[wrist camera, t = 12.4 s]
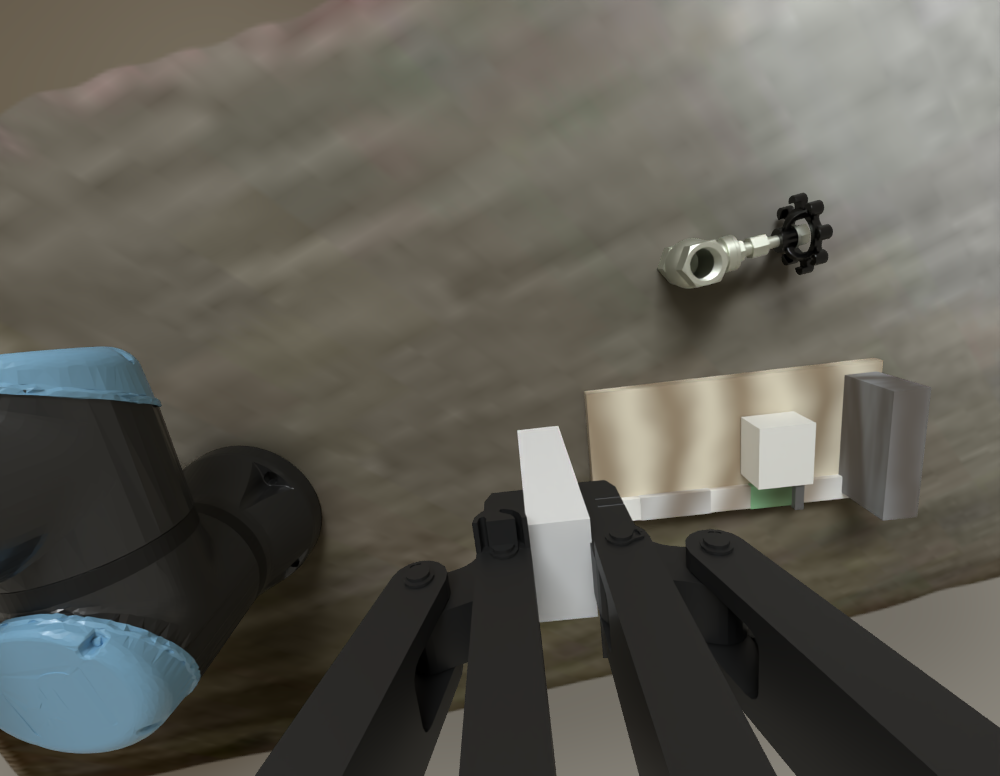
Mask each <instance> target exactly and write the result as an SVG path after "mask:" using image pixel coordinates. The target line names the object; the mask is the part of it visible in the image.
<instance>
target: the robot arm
mask: <svg viewBox="0 0 1000 776" xmlns="http://www.w3.org/2000/svg"><path fill="white" fill-rule="evenodd" d="M161 406H162V405H161V402H160V401H159V400H158V399H157V398H155V397H154V395H153V392H152V390H151V388H150V385H149V383H148V381H147V379H146V376H145V374H144V372H143V369H142V367H141V365H140V363H139V362H138V360H137V359H136V358H135V357H134V356H132V355H131V354H130V353H128V352H126V351H124V350H121V349H118V348H114V347H84V348H69V349H56V350H43V351H31V352H21V353H10V354H0V729H2V730H3V731H5V732H6V733H8V734H10V735H12V736H14V737H16V738H18V739H20V740H23V741H25V742H28V743H31V744H35V745H38V746H41V747H43V748H47V749H51V750H55V751H61V752H68V753H100V752H108V751H113V750H117V749H121V748H124V747H127V746H130V745H132V744H134V743H136V742H138V741H140V740H142V739H144V738H146V737H147V736H149V735H150V734H152V733H153V732H154V731H155V730H157V729H158V728H159V727H160V726H161V725H162V724H163V723H164V722H165V721H166V719H167V718H168V717H169V716H170V715H171V713H172V712H173V711H174V710H175V708H176V707H177V706H178V705H179V704H180V702H181V701H182V700H183V699H184V697H186V696H187V695H188V694H190V693H191V692H192V691H193V690H194V688H195V687H196V685H197V684H198V681H199V680H200V678H201V677H202V676H203V674H204V673H205V671H206V670H207V668H208V667H209V665H210V664H211V663H212V661H213V660H214V658H215V657H216V655H217V654H218V653H219V651H220V650H221V648H222V647H223V645H224V644H225V642H226V641H227V640H228V638H229V637H230V635H231V634H232V632H233V631H234V629H235V628H236V627H237V625H238V624H239V622H240V621H241V619H242V618H243V617H244V615H245V614H246V612H247V611H248V609H249V608H250V606H251V605H252V603H253V602H254V601H255V599H256V598H257V597H258V596H259V595H260V594H262V593H263V592H265V591H266V590H268V589H270V588H271V587H273V586H274V585H276V584H277V583H279V582H280V581H282V580H284V579H285V578H287V577H288V576H290V575H291V574H292V573H293V572H295V571H296V570H297V569H298V568H299V567H300V566H301V565H302V563H303V562H304V561H305V559H306V558H307V556H308V555H309V553H310V552H311V550H312V549H313V547H314V546H315V544H316V542H317V539H318V537H319V533H320V529H321V509H320V505H319V501H318V498H317V496H316V493H315V491H314V489H313V487H312V486H311V484H310V483H309V481H308V480H307V479H306V477H305V476H304V475H303V474H302V473H301V472H300V471H299V470H298V469H297V468H296V467H295V466H294V465H292V464H291V463H290V462H288V461H287V460H285V459H284V458H282V457H280V456H278V455H276V454H274V453H272V452H269V451H266V450H263V449H260V448H255V447H249V446H230V447H224V448H220V449H217V450H214V451H211V452H209V453H207V454H205V455H203V456H202V457H200V458H199V459H197V460H196V461H194V462H193V463H191V464H190V465H188V466H187V467H186V468H184V469H183V470H182V468H181V465H180V462H179V460H178V457H177V454H176V451H175V449H174V446H173V443H172V440H171V438H170V435H169V432H168V430H167V427H166V424H165V421H164V419H163V416H162V413H161V410H160V408H159V407H161ZM517 432H518V442H519V453H520V463H521V474H522V484H523V490H518V491H509V492H500V493H492V494H491V495H490V496H489V497H488V499H487V500H486V501H485V504H484V511H483V512H481V513H480V514H478V515H477V516H476V517H475V518H474V520H473V522H472V526H473V533H474V539H475V546H476V552H477V555H476V559H475V560H474V561H473V562H472V563H470V564H468V565H467V566H465V567H462V568H460V569H457V570H454V571H451V572H448V573H447V571H446V568H445V566H443V565H442V564H440V563H439V562H434V561H419V562H416V563H412V564H409V565H407V566H406V567H404V568H402V569H400V570H399V571H398V572H397V573H396V574H395V575H394V576H393V577H392V579H391V580H390V581H389V583H388V584H387V586H386V587H385V589H384V590H383V592H382V593H381V594H380V596H379V597H378V599H377V600H376V602H375V603H374V605H373V606H372V607H371V609H370V610H369V612H368V613H367V615H366V616H365V618H364V619H363V620H362V622H361V623H360V625H359V626H358V628H357V629H356V631H355V632H354V633H353V635H352V636H351V638H350V639H349V641H348V642H347V644H346V645H345V646H344V648H343V649H342V651H341V652H340V654H339V655H338V657H337V658H336V659H335V661H334V662H333V664H332V665H331V667H330V668H329V670H328V671H327V672H326V674H325V675H324V677H323V678H322V680H321V681H320V683H319V684H318V685H317V687H316V688H315V690H314V691H313V693H312V694H311V696H310V697H309V698H308V700H307V701H306V703H305V704H304V706H303V707H302V709H301V710H300V711H299V713H298V714H297V716H296V717H295V719H294V720H293V722H292V723H291V724H290V726H289V727H288V729H287V730H286V732H285V733H284V735H283V736H282V737H281V739H280V740H279V742H278V743H277V745H276V746H275V748H274V749H273V750H272V752H271V753H270V755H269V756H268V758H267V759H266V761H265V762H264V763H263V765H262V766H261V768H260V769H259V771H258V772H257V774H256V775H255V776H424V774H425V771H426V769H427V766H428V763H429V761H430V758H431V755H432V753H433V750H434V747H435V745H436V742H437V739H438V737H439V734H440V731H441V729H442V726H443V723H444V721H445V718H446V715H447V713H448V710H449V707H450V705H451V702H452V699H453V697H454V694H455V691H456V689H457V686H458V683H459V681H460V678H461V675H462V670H463V664H464V663H467V662H468V668H467V681H466V694H465V706H464V720H463V732H462V744H461V757H460V769H459V776H556V767H555V759H554V749H553V740H552V731H551V723H550V714H549V704H548V694H547V685H546V676H545V667H544V658H543V649H542V640H541V631H540V623H539V622H547V621H557V620H567V619H577V618H587V617H597V616H598V612H597V605H598V609H599V612H600V623H601V636H602V648H603V658H608V659H609V663H610V667H611V671H612V674H613V678H614V682H615V685H616V689H617V693H618V697H619V701H620V704H621V708H622V712H623V716H624V720H625V723H626V727H627V731H628V735H629V738H630V742H631V746H632V750H633V753H634V757H635V761H636V765H637V769H638V772H639V776H777V775H776V773H775V772H774V769H773V768H772V766H771V764H770V762H769V760H768V758H767V756H766V755H765V753H764V751H763V749H762V747H761V745H760V743H759V741H758V739H757V737H756V736H755V734H754V732H753V730H752V728H751V726H750V725H749V722H748V721H747V719H746V717H745V715H744V713H745V714H746V715H747V716H748V718H749V719H750V720H751V721H752V723H753V724H754V725H755V726H756V727H757V729H758V730H759V731H760V732H761V733H762V735H763V736H764V737H765V738H766V739H767V740H768V742H769V743H770V744H771V746H772V747H773V748H774V749H775V750H776V752H777V753H778V754H779V755H780V756H781V758H782V759H783V760H784V761H785V762H786V764H787V765H788V766H789V767H790V768H791V770H792V771H793V772H794V773H795V775H796V776H1000V728H999V727H998V726H997V725H995V724H994V723H992V722H991V721H990V720H988V719H987V718H985V717H984V716H983V715H982V714H980V713H979V712H978V711H976V710H975V709H974V708H972V707H971V706H969V705H968V704H967V703H965V702H964V701H962V700H961V699H960V698H958V697H957V696H956V695H954V694H953V693H952V692H950V691H949V690H948V689H946V688H945V687H943V686H942V685H941V684H939V683H938V682H937V681H935V680H934V679H932V678H931V677H930V676H928V675H927V674H925V673H924V672H923V671H922V670H920V669H919V668H918V667H916V666H915V665H913V664H912V663H911V662H909V661H908V660H907V659H905V658H904V657H902V656H901V655H900V654H898V653H897V652H896V651H894V650H893V649H892V648H890V647H889V646H887V645H886V644H885V643H883V642H882V641H880V640H879V639H878V638H877V637H875V636H874V635H873V634H871V633H870V632H868V631H867V630H866V629H864V628H863V627H862V626H860V625H859V624H858V623H856V622H855V621H853V620H852V619H851V618H849V617H848V616H847V615H845V614H844V613H842V612H841V611H840V610H838V609H837V608H836V607H834V606H833V605H832V604H830V603H829V602H827V601H826V600H825V599H823V598H822V597H821V596H819V595H818V594H817V593H815V592H814V591H812V590H811V589H810V588H808V587H807V586H806V585H804V584H803V583H802V582H800V581H799V580H797V579H796V578H795V577H793V576H792V575H791V574H789V573H788V572H787V571H785V570H784V569H782V568H781V567H780V566H778V565H777V564H776V563H774V562H773V561H772V560H770V559H769V558H767V557H766V556H765V555H763V554H762V553H761V552H759V551H758V550H757V549H755V548H754V547H752V546H751V545H750V544H748V543H747V542H746V541H744V540H743V539H741V538H740V537H738V536H736V535H734V534H732V533H728V532H725V531H721V530H714V529H711V530H701V531H697V532H695V533H692V534H690V535H689V536H688V537H687V539H686V547H677V546H668V545H662V544H658V543H655V542H652V540H651V538H650V536H649V535H648V534H647V532H646V531H645V530H644V529H642V528H640V527H638V526H636V525H635V524H634V522H633V520H632V518H631V516H630V514H629V512H628V510H627V508H626V506H625V504H624V502H623V500H622V498H621V497H620V495H619V493H618V491H617V489H616V487H615V486H614V485H612V484H611V483H609V482H608V481H606V480H599V481H589V482H580V483H577V480H576V477H575V474H574V471H573V468H572V465H571V462H570V459H569V456H568V453H567V450H566V448H565V445H564V442H563V439H562V436H561V433H560V430H559V427H558V426H553V427H544V428H535V429H527V430H518V431H517ZM742 710H743V711H742ZM743 712H744V713H743Z"/></svg>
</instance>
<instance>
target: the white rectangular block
mask: <svg viewBox="0 0 1000 776" xmlns="http://www.w3.org/2000/svg"><path fill="white" fill-rule="evenodd" d="M815 438H816V423H815V422H813V421H811V420H810V419H808V418H806V417H804V416H802V415H800V414H798V413H796V412H794V411H790V412H781V413H773V414H764V415H755V416H746V417H741V474H742V475H743V476H744V477H745V478H746V479H747V480H748V481H749V482H751V483H752V484H753V485H754V486H755V487H756V488H757V489H758V490H761V489H770V488H780V487H789V486H792V503H791V507H792V508H793V509H794V510H800V509H804V488H805V485H808V484H813V479H814V458H815Z"/></svg>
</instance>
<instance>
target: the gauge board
mask: <svg viewBox="0 0 1000 776" xmlns="http://www.w3.org/2000/svg"><path fill="white" fill-rule="evenodd" d="M882 367H883V360H880V359H876V358H869V359H860V360H851V361H843V362H834V363H825V364H816V365H808V366H799V367H790V368H782V369H773V370H764V371H756V372H747V373H738V374H730V375H721V376H712V377H704V378H695V379H686V380H678V381H669V382H660V383H652V384H643V385H634V386H626V387H617V388H608V389H600V390H591V391H584V397H585V409H586V422H587V435H588V447H589V460H590V472H591V481H599V480H606V481H608V482H609V483H611V484H612V485H614V486H615V487H616V489H617V491H618V493H619V495H620V497H621V498H622V500H623V502H624V504H625V506H626V508H627V510H628V512H629V514H630V516H631V518H632V520H633V521H635V520H652V519H661V518H671V517H680V516H690V515H699V514H708V513H711V512H720V511H729V510H739V509H748V508H750V509H758V508H767V507H777V506H786V505H791V503H792V486H789V487H780V488H770V489H761V490H758V489H757V488H756V487H755V486H754V485H753V484H752V483H751V482H749V481H748V480H747V479H746V478H745V477H744V476H743V475H742V474H741V417H746V416H755V415H764V414H773V413H781V412H790V411H794V412H796V413H798V414H800V415H802V416H804V417H806V418H808V419H810V420H811V421H813V422H815V423H816V438H815V458H814V479H813V484H808V485H805V488H804V503H805V502H814V501H824V500H833V499H843V498H851V499H852V500H853V501H855V502H856V503H858V504H859V505H861V506H862V507H864V508H865V509H867V510H868V511H870V512H871V513H873V514H874V515H875V516H877V517H878V518H880V519H881V520H892V519H901V518H911V517H917V513H918V504H919V495H920V486H921V476H922V467H923V458H924V449H925V440H926V431H927V422H928V413H929V404H930V395H931V387H928V386H925V385H922V384H918V383H915V382H911V381H908V380H905V379H901V378H898V377H894V376H891V375H888V374H884V373H882Z"/></svg>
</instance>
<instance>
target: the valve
mask: <svg viewBox="0 0 1000 776" xmlns="http://www.w3.org/2000/svg"><path fill="white" fill-rule="evenodd" d="M791 203H794V205H795V209H794V207H793V206H791V205H790V206H786V207H782V208H779V209H778V211H777V218H778V220H780V219H785V221H784V223H783V227H782V228H778V229H775V230H773V232H772V234H771V237H767V236H766V235H765V234H763V235H758V236H754V237H750V238H746V239H745V241H744V243H743V242H742V241H738V240H737V239H736V238H735V237H734V236H733V235H728V236H725V237H721V238H718V239H717V240H707V241H705V240H702V239H698V238H689V239H685V240H682V241H680V242H678V243H677V244H675V245H674V246H670V247H666V248H664V250H663V253H662V256H661V259H660V262H659V265H658V268H657V269H658V270H659V272H660V273H661V274H662V275H663V276H664V277H665V278H666V280H667V281H668V282H669V283H670V284H675V285H677V286H679V287H682V288H687V289H688V288H697V287H701V286H705V285H709V284H713V283H717V282H720V281H721V280H722V278H723V276H724V273H726V272H730V271H734V270H737V269H738V268H739V267H740V264H741V261H744V259H745V256H747V258H755V257H759V256H763V255H767V254H768V252H769V249H772V248H773V249H774V251H775V252H777V253H780V252H784V251H785V253H786V254H783V255H782V262H783V264H784V265H790V264H794V263H797V262H798V261H800V267H797V268H795V270H796V272H797V274H799V275H802V274H806V273H810V272H812V271H813V269H814V266H815V265H819V264H823V263H826V262H827V260H828V253H827V251H826V250H824V249H822V240H825V239H829V238H831V236H832V234H833V229H832V227H831V226H830V225H829V224H826V225H821V223H820V220H819V215H820V214H822V212H823V210H824V204H823V202H822V201H821V200H817V201H813V202H809V203H808V197H807V195H806V194H805V193H800V194H797V195H793V196H791V197H790V198H789V204H791ZM803 218H805V219H806V221H807V222H808V224H809V227H810V230H809V228H808V226H807V225H806V224H803V225H798V226H796V225H795V221H796V220H799V219H803ZM810 231H811V244H810V247H809V249H808V251H807V252H802V251H801V250H800V249H799V248H798V247H799V245H803V244H807V243H808V242H809V239H810ZM690 262H691V266H690Z"/></svg>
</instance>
